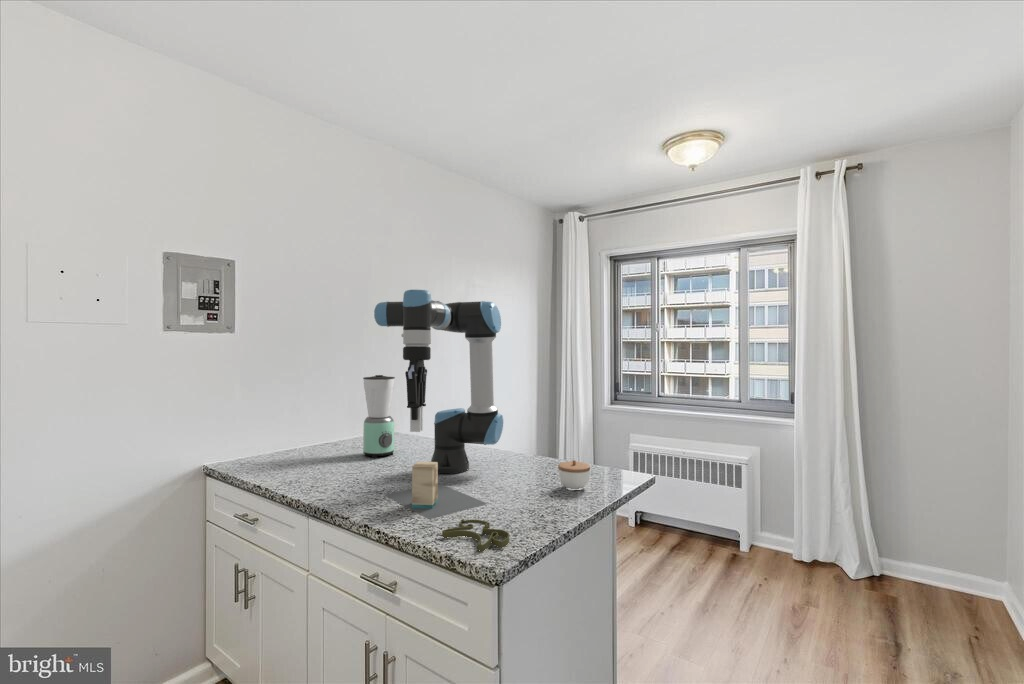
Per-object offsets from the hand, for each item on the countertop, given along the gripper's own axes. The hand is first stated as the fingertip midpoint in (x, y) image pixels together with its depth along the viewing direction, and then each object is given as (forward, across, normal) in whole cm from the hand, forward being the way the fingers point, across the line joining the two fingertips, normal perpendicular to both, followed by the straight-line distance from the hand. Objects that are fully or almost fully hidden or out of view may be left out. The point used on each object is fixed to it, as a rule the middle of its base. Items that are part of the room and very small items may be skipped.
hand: (416, 430), depth 134 cm
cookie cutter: (+25, +11, +19) cm, 33 cm away
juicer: (+25, -76, -40) cm, 89 cm away
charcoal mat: (+24, -15, +1) cm, 29 cm away
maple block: (+23, -9, 0) cm, 25 cm away
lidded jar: (+25, -34, +45) cm, 61 cm away
